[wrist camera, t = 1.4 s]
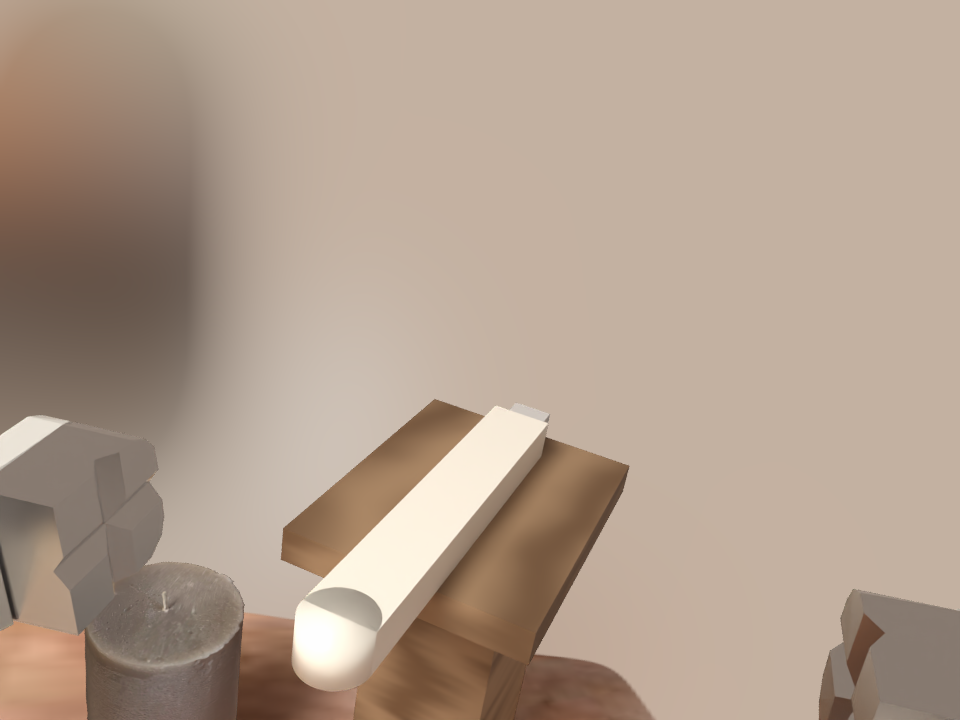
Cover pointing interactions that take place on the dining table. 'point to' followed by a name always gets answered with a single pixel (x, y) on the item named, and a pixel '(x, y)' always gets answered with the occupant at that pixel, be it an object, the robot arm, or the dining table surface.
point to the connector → (412, 552)
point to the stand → (465, 568)
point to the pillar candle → (166, 647)
